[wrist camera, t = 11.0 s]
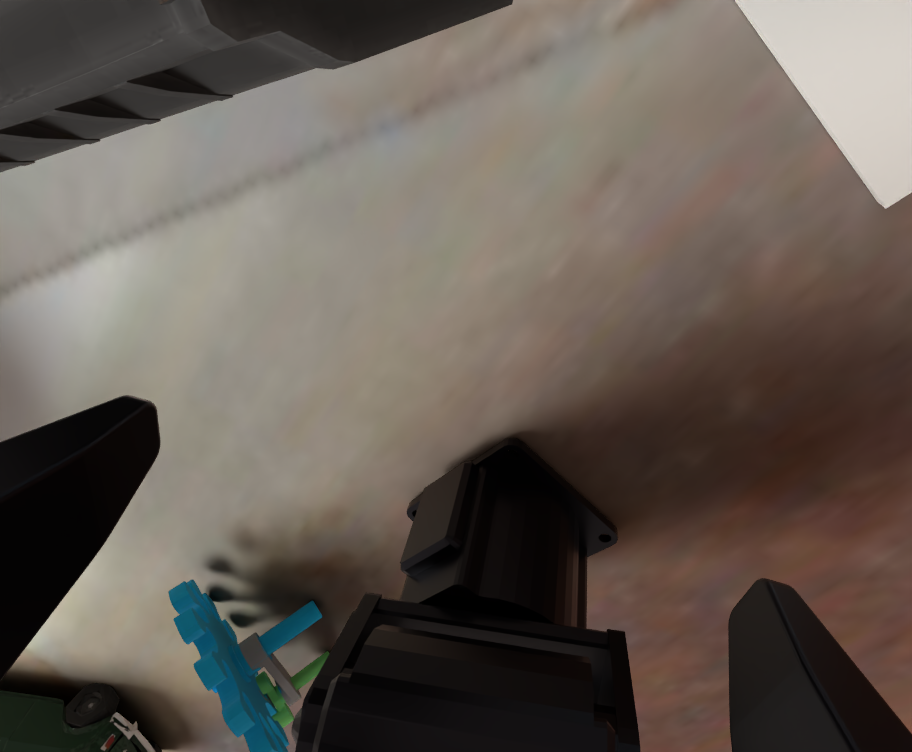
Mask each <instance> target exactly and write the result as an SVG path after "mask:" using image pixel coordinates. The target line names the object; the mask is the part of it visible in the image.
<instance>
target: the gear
mask: <svg viewBox="0 0 912 752" xmlns="http://www.w3.org/2000/svg"><path fill="white" fill-rule="evenodd" d="M169 597H170V600H171V603H172V605H173V607H174V608H175V610H176V611H177V612H178V613H179V614H180V615H179V616H177V617H176V618H174V622H175V624H176V626H177V629H178V631H179V633H180V635H181V637H182V639H183V640H184V642H185V643H186V644H190V643H191V642H194V644H195V645H196V647H197V649H198V651H199V653H200V656H201V659H200V660H199V661H197V662H196V663H194V668H195V670H196V672H197V674H198V676H199V677H200V679H201V681H202V682H203V684H204V685H205V687H206V688H207V690H208V691H210V690H211V689H212V690H213V691H214V692H215V693H217V692H218V694H219V697H220V700H221V703H222V714H223V717H224V720H225V722H226V724H227V725H228V727H229V728H230V729H231V731H232V732H233V733H234V734H235V735H236V736H237V737H239V736H241V735H242V734H244V737H245V739H246V742H247V744H248V747H249V750H250V752H288V751H287V749H286V746H288V745H289V742H288V739H287V737H286V734H285V732H284V730H283V728H284V727H285V726H286V725H287V724H289V723H290V722H291V721H293V720H294V717H293V714H292V712H291V711H290V709H289V707H288V706H287V704H288V705H289V706H291V705H292V704H294V703H295V702H296V701H298V700H299V699H300V698H301V695H300V692H299V690H298V689H300V688H301V687H302V686H304V685H305V684H306V683H308V682H309V681H310V680H312V679H313V678H314V677H316V676H317V675H318V673H319V671H320V670H321V668H322V666H323V664H324V662H325V661H326V659H327V657H328V655H329V652H328V651H327V652H325V653H324V654H323V655H321V656H320V657H319V658H317V659H316V660H314V661H313V662H312V663H310V664H309V665H308V666H306V667H305V668H304V669H302V670H301V671H300V672H298V673H297V674H296V675H294V676H293V677H291V676H290V675H289V674H288V672H287V671H286V670H285V668H284V667H283V666H282V665H281V663H280V662H279V661H278V660H277V658H276V657H275V656H274V654H273V652H274V651H276V650H277V649H279V648H280V647H281V646H283V645H284V644H286V643H287V642H288V641H290V640H291V639H293V638H294V637H295V636H297V635H298V634H300V633H301V632H302V631H304V630H305V629H307V628H308V627H309V626H311V625H312V624H314V623H315V622H316V621H318V620H319V619H321V618H322V617H323V616H322V615H321V613H320V611H319V610H318V608H317V606H316V605H315V603H314V601H313V600H312V601H310V602H309V603H308V604H306V605H305V606H303V607H302V608H300V609H299V610H298V611H296V612H295V613H293V614H292V615H290V616H289V617H288V618H286V619H285V620H283V621H282V622H280V623H279V624H278V625H276V626H275V627H273V628H272V629H270V630H269V631H267V632H266V633H265V634H263V635H262V636H260V637H259V635H258V634H257V633H256V632H255V633H254V634H252V635H251V636H249V637H248V638H247V639H245V640H244V641H242V642H241V643H239V644H238V643H237V637H236V635H235V632H234V631H233V629H232V628H231V626H230V625H229V623H228V622H227V621H226V620H225V619H224V620H223V621H221V619H220V616H219V614H218V612H217V609H216V607H215V605H214V603H213V601H212V600H211V598H210V597H209V596H208V595H207V594H206V593H204V594H201V592H200V590H199V588H198V586H197V585H196V583H195V582H194V580H190V581H189V582H187V583H186V582H185V581H184V582H183V583H181V584H179V585H178V586H176V587H175V588H173V589H172V590H170V591H169ZM263 667H265V668H266V670H267V671H268V672H269V673H270V674H271V676H272V677H273V678H274V679H275V683H276V686H275V687H274V686H273V684H272V683H271V681H270V679H269V677H268V676H267V674H266V673H265V672H264V671H263V672H262V673H261V674H259V675H258V672H257V671H259V670H260V669H261V668H263ZM257 675H258V676H257ZM285 702H286V703H287V704H286V703H285ZM274 705H275V706H274ZM275 707H276V708H275Z"/></svg>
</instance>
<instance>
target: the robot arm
mask: <svg viewBox="0 0 912 752" xmlns="http://www.w3.org/2000/svg"><path fill="white" fill-rule="evenodd" d="M159 449H160V433H159V424H158V415H157V409H156V406H155V405H154V403H152V402H151V401H148V400H144V399H141V398H137V397H134V396H129V395H126V396H121V397H118V398H115V399H113V400H110V401H107V402H105V403H102V404H100V405H97V406H94V407H92V408H89V409H86V410H84V411H81V412H79V413H76V414H73V415H71V416H68V417H65V418H63V419H60V420H57V421H55V422H52V423H50V424H47V425H44V426H42V427H39V428H36V429H34V430H31V431H28V432H26V433H23V434H21V435H18V436H15V437H13V438H10V439H7V440H5V441H2V442H0V681H1V679H2V678H3V677H4V675H5V674H6V673H7V671H8V670H9V669H10V668H11V666H12V665H13V664H14V662H15V661H16V660H17V658H18V657H19V656H20V654H21V653H22V652H23V650H24V649H25V648H26V647H27V645H28V644H29V643H30V641H31V640H32V639H33V637H34V636H35V635H36V633H37V632H38V631H39V629H40V628H41V627H42V626H43V624H44V623H45V622H46V620H47V619H48V618H49V616H50V615H51V614H52V612H53V611H54V610H55V608H56V607H57V606H58V605H59V603H60V602H61V601H62V599H63V598H64V597H65V595H66V594H67V593H68V591H69V590H70V589H71V587H72V586H73V585H74V584H75V582H76V581H77V580H78V578H79V577H80V576H81V574H82V573H83V572H84V570H85V569H86V568H87V566H88V565H89V564H90V563H91V561H92V560H93V559H94V557H95V556H96V554H97V553H98V552H99V550H100V549H101V547H102V546H103V545H104V543H105V542H106V540H107V538H108V537H109V535H110V534H111V532H112V531H113V529H114V527H115V526H116V524H117V522H118V521H119V519H120V517H121V516H122V514H123V512H124V511H125V509H126V507H127V506H128V504H129V503H130V501H131V499H132V498H133V496H134V494H135V493H136V491H137V489H138V488H139V486H140V484H141V483H142V481H143V479H144V478H145V476H146V474H147V473H148V471H149V469H150V468H151V466H152V464H153V463H154V461H155V459H156V458H157V455H158V453H159ZM508 450H515V451H517V453H511V452H509V451H508ZM407 515H408V517H409V518H410V519H411V520H412V521H413V525H412V528H411V531H410V534H409V537H408V540H407V543H406V546H405V549H404V552H403V556H402V559H401V562H400V563H401V570H402V571H403V572H404V573H405V574H407V578H406V581H405V585H404V588H403V591H402V595H401V598H400V600H395V599H388V598H382V595H380V594H373V593H365V595H364V597H363V599H362V600H361V602H360V604H359V606H358V607H357V609H356V611H354V612H353V613H352V615H351V616H350V618H349V620H348V622H347V623H346V625H345V627H344V629H343V631H342V632H341V634H340V636H339V638H338V639H337V641H336V643H335V645H334V647H333V648H332V650H331V652H330V654H329V655H328V657H327V659H326V661H325V662H324V664H323V666H322V668H321V670H320V671H319V673H318V675H317V677H316V678H315V680H314V682H313V684H312V686H311V687H310V689H309V691H308V693H307V694H306V697H305V699H304V702H303V706H302V708H301V709H300V711H299V712H298V713H297V714H296V716H295V718H294V721H293V725H292V736H293V738H294V741H295V743H296V751H295V752H640V741H639V732H638V724H637V717H636V710H635V702H634V695H633V688H632V680H631V673H630V666H629V659H628V651H627V644H626V637H625V632H624V631H617V630H611V629H607V632H605V631H598V630H592V629H586V613H587V557H589V556H591V555H593V554H595V553H597V552H599V551H602V550H604V549H606V548H608V547H610V546H612V545H614V544H615V543H616V542H617V540H618V538H617V528H616V527H615V526H614V525H613V524H612V523H611V522H610V521H609V520H608V519H607V518H606V517H604V516H603V515H602V514H601V513H600V512H599V511H598V510H597V509H596V508H595V507H594V506H592V505H591V504H590V503H589V502H588V501H587V500H586V499H585V498H584V497H583V496H581V495H580V494H579V493H578V492H577V491H576V490H575V489H574V488H573V487H572V486H570V485H569V484H568V483H567V482H566V481H565V480H564V479H563V478H562V477H561V476H559V475H558V474H557V473H556V472H555V471H554V470H553V469H552V468H551V467H550V466H549V465H547V464H546V463H545V462H544V461H543V460H542V459H541V458H540V457H539V456H538V455H536V454H535V453H534V452H533V451H532V450H531V449H530V448H529V447H528V446H527V445H525V444H524V443H523V442H522V441H520V440H519V439H515V438H508V439H506V440H504V441H502V442H501V443H499V444H498V445H496V446H494V447H493V448H491V449H490V450H488V451H487V452H485V453H484V454H482V455H481V456H479V457H478V458H476V459H475V460H473V461H472V462H471V461H469V462H463V463H462V464H460V465H459V466H457V467H456V468H454V469H453V470H451V471H450V472H448V473H447V474H445V475H444V476H442V477H441V478H439V479H438V480H436V481H435V482H433V483H432V484H430V485H429V486H427V487H426V488H425V489H424V491H423V494H421V495H420V496H418V497H417V498H415V499H414V500H412V501H411V502H410V503H409V506H408V509H407ZM602 534H608V535H602ZM728 629H729V707H730V733H731V744H732V752H912V734H911V732H910V731H909V730H908V729H907V728H906V726H905V725H904V724H903V723H902V721H901V720H900V719H899V718H898V716H897V715H896V714H895V713H894V712H893V710H892V709H891V708H890V707H889V705H888V704H887V703H886V702H885V700H884V699H883V698H882V697H881V695H880V694H879V693H878V692H877V691H876V689H875V688H874V687H873V686H872V684H871V683H870V682H869V681H868V679H867V678H866V677H865V676H864V674H863V673H862V672H861V671H860V670H859V668H858V667H857V666H856V665H855V663H854V662H853V661H852V660H851V658H850V657H849V656H848V655H847V653H846V652H845V651H844V650H843V649H842V647H841V646H840V645H839V644H838V642H837V641H836V640H835V639H834V637H833V636H832V635H831V634H830V632H829V631H828V630H827V629H826V628H825V626H824V625H823V624H822V623H821V621H820V620H819V619H818V618H817V616H816V615H815V614H814V613H813V611H812V610H811V609H810V608H809V607H808V605H807V604H806V603H805V602H804V600H803V599H802V598H801V597H800V595H799V594H798V593H797V592H796V591H795V590H794V589H793V588H792V587H791V586H789V585H787V584H783V583H780V582H776V581H773V580H769V579H766V578H762V579H759V580H757V581H756V582H755V583H754V584H753V585H752V586H751V588H750V589H749V590H748V591H747V592H746V594H745V595H744V596H743V597H742V599H741V600H740V601H739V602H738V603H737V605H736V606H735V607H734V609H733V610H732V612H731V615H730V618H729V627H728Z"/></svg>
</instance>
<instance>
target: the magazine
mask: <svg viewBox="0 0 912 752" xmlns="http://www.w3.org/2000/svg"><path fill="white" fill-rule="evenodd" d="M512 2H513V0H0V172H3V171H6V170H9V169H12V168H15V167H18V166H26V165H29V164H32V163H35V161H36V160H39V159H42V158H45V157H48V156H51V155H54V154H57V153H60V152H63V151H66V150H69V149H72V148H75V147H78V146H81V145H84V144H92V143H95V142H98V141H100V139H102V138H105V137H108V136H111V135H114V134H117V133H120V132H123V131H126V130H129V129H132V128H135V127H138V126H141V125H144V124H153V123H156V122H159V121H161V120H160V119H162V118H165V117H168V116H171V115H174V114H177V113H180V112H183V111H186V110H189V109H192V108H195V107H199V106H202V105H205V104H208V103H211V102H214V101H217V100H219V101H222V100H225V99H229V98H232V97H233V96H232V95H235V94H238V93H241V92H244V91H247V90H250V89H253V88H256V87H259V86H262V85H265V84H268V83H271V82H274V81H278V80H281V79H284V78H287V77H290V76H293V75H296V74H299V73H302V72H305V71H308V70H311V69H314V68H323V69H336V68H339V67H342V66H346V65H349V64H352V63H355V62H358V61H361V60H363V59H366V58H369V57H371V56H374V55H377V54H379V53H382V52H385V51H387V50H390V49H393V48H396V47H398V46H401V45H404V44H406V43H409V42H412V41H414V40H417V39H420V38H422V37H425V36H428V35H431V34H433V33H436V32H439V31H441V30H444V29H447V28H449V27H452V26H455V25H457V24H460V23H463V22H466V21H468V20H471V19H474V18H476V17H479V16H482V15H484V14H487V13H490V12H493V11H495V10H498V9H501V8H503V7H506V6H509V5H511V4H512Z"/></svg>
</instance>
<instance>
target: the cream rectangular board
mask: <svg viewBox="0 0 912 752" xmlns="http://www.w3.org/2000/svg"><path fill="white" fill-rule="evenodd" d="M735 2H736V3H737V4H738V6H739V7H740V9H741V10H742V11H743V13H744V14H745V16H746V17H747V18H748V20H749V21H750V23H751V24H752V26H753V27H754V28H755V30H756V31H757V33H758V34H759V35H760V37H761V38H762V40H763V41H764V42H765V44H766V45H767V47H768V48H769V50H770V51H771V52H772V54H773V55H774V57H775V58H776V59H777V61H778V62H779V64H780V65H781V66H782V68H783V69H784V71H785V72H786V74H787V75H788V76H789V78H790V79H791V81H792V82H793V83H794V85H795V86H796V88H797V89H798V90H799V92H800V93H801V95H802V96H803V97H804V99H805V100H806V102H807V103H808V105H809V106H810V107H811V109H812V110H813V112H814V113H815V114H816V116H817V117H818V119H819V120H820V121H821V123H822V124H823V126H824V127H825V129H826V130H827V131H828V133H829V134H830V136H831V137H832V138H833V140H834V141H835V143H836V144H837V145H838V147H839V148H840V150H841V151H842V152H843V154H844V155H845V157H846V158H847V160H848V161H849V162H850V164H851V165H852V167H853V168H854V169H855V171H856V172H857V174H858V175H859V176H860V178H861V179H862V181H863V182H864V184H865V185H866V186H867V188H868V189H869V191H870V192H871V193H872V195H873V196H874V198H875V199H876V200H877V202H878V203H880V204H881V205H882V206H883V207H884V208H888V207H889V206H891V205H893V204H894V203H896V202H897V201H899V200H900V199H902V198H903V197H905V196H907V195H908V194H910V193H911V192H912V0H735Z"/></svg>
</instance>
